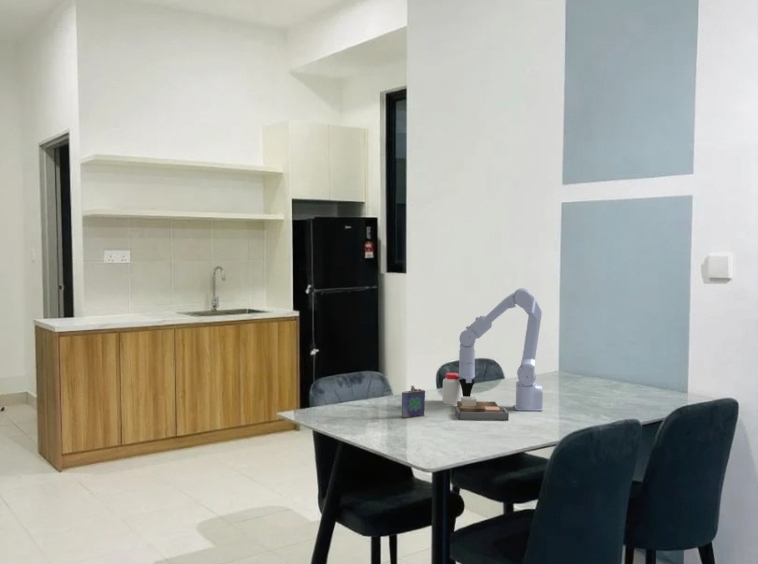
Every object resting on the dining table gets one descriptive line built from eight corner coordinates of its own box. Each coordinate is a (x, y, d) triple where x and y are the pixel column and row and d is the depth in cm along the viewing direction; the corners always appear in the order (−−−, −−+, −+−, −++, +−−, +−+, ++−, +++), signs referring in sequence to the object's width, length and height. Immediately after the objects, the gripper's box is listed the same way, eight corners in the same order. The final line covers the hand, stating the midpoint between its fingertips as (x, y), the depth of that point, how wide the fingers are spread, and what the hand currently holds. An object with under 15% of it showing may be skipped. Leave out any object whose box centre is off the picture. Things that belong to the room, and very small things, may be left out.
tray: (504, 414, 255) (504, 407, 255) (508, 420, 246) (508, 413, 246) (456, 413, 256) (456, 406, 256) (458, 419, 247) (458, 412, 247)
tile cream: (474, 403, 264) (474, 396, 264) (476, 406, 259) (476, 399, 259) (460, 403, 264) (460, 396, 264) (462, 406, 259) (462, 399, 259)
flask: (403, 418, 247) (404, 387, 247) (399, 417, 250) (399, 386, 249) (426, 416, 252) (426, 385, 252) (421, 414, 254) (421, 384, 254)
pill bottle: (461, 405, 270) (462, 376, 270) (441, 404, 272) (441, 375, 271) (463, 401, 278) (464, 372, 277) (443, 400, 279) (444, 371, 279)
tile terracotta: (498, 413, 255) (498, 406, 255) (500, 416, 250) (500, 409, 250) (483, 413, 255) (484, 406, 255) (485, 416, 250) (486, 409, 250)
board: (494, 407, 267) (495, 401, 267) (499, 414, 256) (500, 408, 255) (457, 406, 268) (457, 401, 268) (460, 413, 256) (460, 408, 256)
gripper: (454, 359, 275) (453, 394, 276) (458, 365, 261) (457, 402, 261) (472, 359, 275) (472, 395, 276) (477, 365, 261) (476, 403, 261)
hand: (466, 398), depth 269 cm, fingers closed
